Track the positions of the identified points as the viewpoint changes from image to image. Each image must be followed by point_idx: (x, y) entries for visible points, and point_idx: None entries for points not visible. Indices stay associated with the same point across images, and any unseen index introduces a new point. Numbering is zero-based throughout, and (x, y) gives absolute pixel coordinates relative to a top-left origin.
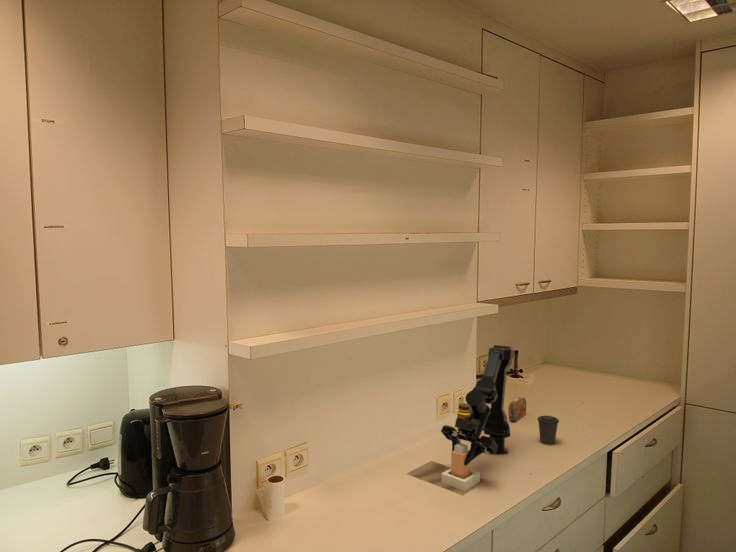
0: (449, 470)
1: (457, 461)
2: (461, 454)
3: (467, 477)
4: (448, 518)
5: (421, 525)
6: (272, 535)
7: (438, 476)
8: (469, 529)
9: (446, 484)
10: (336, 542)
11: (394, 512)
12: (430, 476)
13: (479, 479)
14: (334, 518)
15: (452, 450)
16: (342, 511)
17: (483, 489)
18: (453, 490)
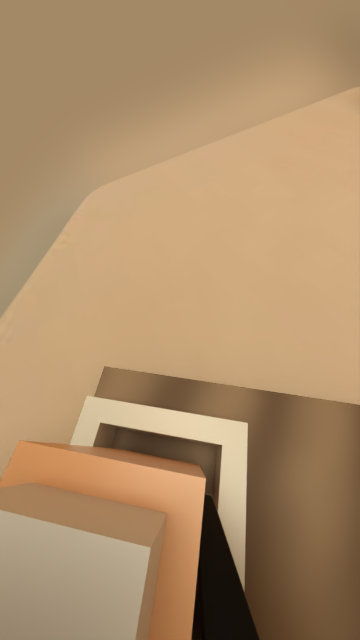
0: (231, 508)
1: (129, 457)
2: (43, 464)
3: None
4: (118, 255)
5: (165, 208)
6: (351, 104)
7: (295, 497)
8: (57, 243)
9: None
10: (261, 128)
11: (250, 215)
12: (329, 465)
13: None
14: (329, 155)
15: (245, 627)
16: (343, 172)
17: None
18: (153, 383)
